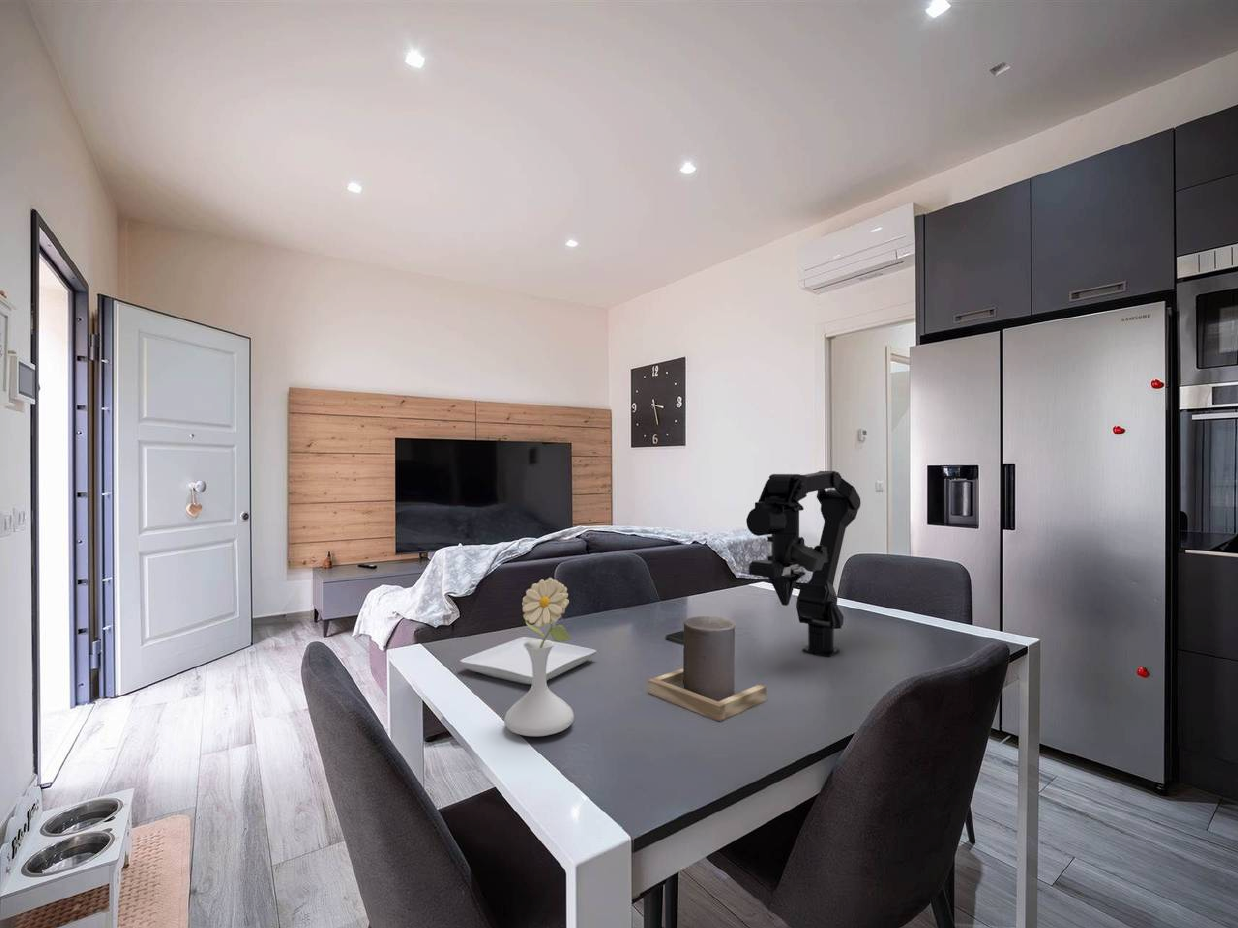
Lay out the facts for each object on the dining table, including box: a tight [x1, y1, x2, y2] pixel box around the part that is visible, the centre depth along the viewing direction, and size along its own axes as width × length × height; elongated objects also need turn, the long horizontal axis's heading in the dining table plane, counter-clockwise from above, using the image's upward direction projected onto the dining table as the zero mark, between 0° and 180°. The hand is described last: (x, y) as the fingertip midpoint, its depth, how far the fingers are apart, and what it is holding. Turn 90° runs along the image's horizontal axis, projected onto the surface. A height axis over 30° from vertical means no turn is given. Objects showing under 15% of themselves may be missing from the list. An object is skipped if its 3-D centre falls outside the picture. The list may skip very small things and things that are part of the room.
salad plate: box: [459, 636, 597, 686], centre depth 127 cm, size 21×21×3 cm
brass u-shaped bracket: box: [647, 667, 767, 722], centre depth 111 cm, size 14×17×2 cm
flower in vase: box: [503, 577, 575, 737], centre depth 98 cm, size 13×11×25 cm
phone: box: [665, 630, 684, 646], centre depth 145 cm, size 8×1×15 cm
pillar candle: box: [682, 615, 736, 702], centre depth 112 cm, size 10×10×15 cm
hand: (785, 605), depth 128 cm, fingers closed
